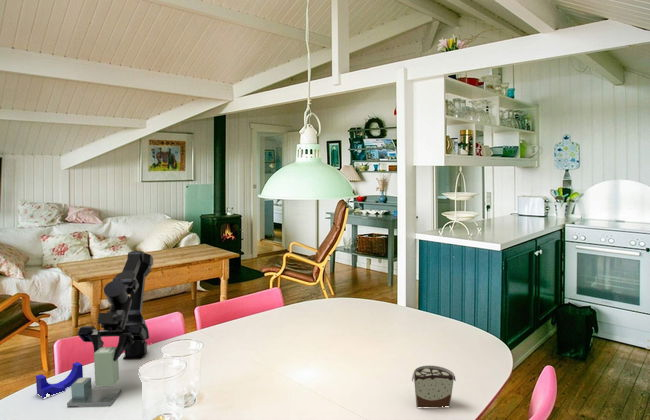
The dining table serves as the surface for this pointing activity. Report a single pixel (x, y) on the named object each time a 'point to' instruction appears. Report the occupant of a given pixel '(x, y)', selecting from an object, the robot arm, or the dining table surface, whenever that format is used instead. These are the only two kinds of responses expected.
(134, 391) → the dining table surface
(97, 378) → the block
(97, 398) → the grey base with block
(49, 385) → the blue curved cradle
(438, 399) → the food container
